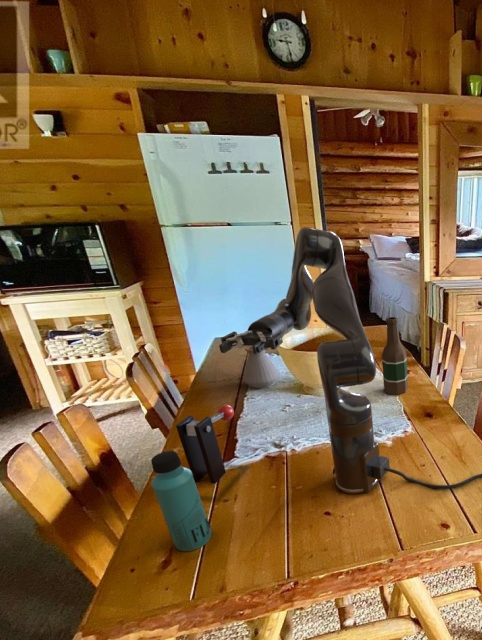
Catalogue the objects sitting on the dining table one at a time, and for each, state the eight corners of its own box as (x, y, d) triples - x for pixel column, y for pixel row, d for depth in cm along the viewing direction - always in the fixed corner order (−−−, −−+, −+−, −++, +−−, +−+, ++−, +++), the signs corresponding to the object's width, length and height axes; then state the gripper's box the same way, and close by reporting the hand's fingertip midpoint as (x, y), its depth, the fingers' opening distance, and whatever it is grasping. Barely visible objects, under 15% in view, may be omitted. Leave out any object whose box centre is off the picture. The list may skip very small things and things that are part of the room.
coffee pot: (283, 387, 146) (274, 344, 139) (245, 393, 142) (235, 349, 135) (275, 365, 163) (268, 326, 156) (242, 370, 159) (233, 330, 152)
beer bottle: (412, 388, 144) (410, 316, 134) (398, 397, 139) (394, 323, 128) (394, 383, 148) (390, 313, 137) (379, 391, 142) (373, 319, 131)
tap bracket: (206, 465, 106) (189, 407, 99) (245, 467, 105) (231, 409, 98) (174, 496, 95) (151, 434, 88) (217, 500, 94) (198, 436, 87)
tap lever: (223, 416, 107) (222, 402, 106) (238, 417, 106) (236, 403, 105) (184, 438, 93) (181, 422, 92) (200, 439, 93) (198, 423, 92)
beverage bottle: (199, 560, 79) (166, 469, 70) (167, 555, 80) (131, 464, 71) (222, 535, 85) (195, 447, 76) (192, 530, 86) (162, 443, 77)
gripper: (241, 316, 121) (206, 334, 107) (290, 317, 120) (262, 336, 106) (247, 342, 125) (214, 363, 110) (295, 343, 123) (268, 365, 109)
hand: (237, 350), depth 108 cm, fingers open, 8 cm apart
